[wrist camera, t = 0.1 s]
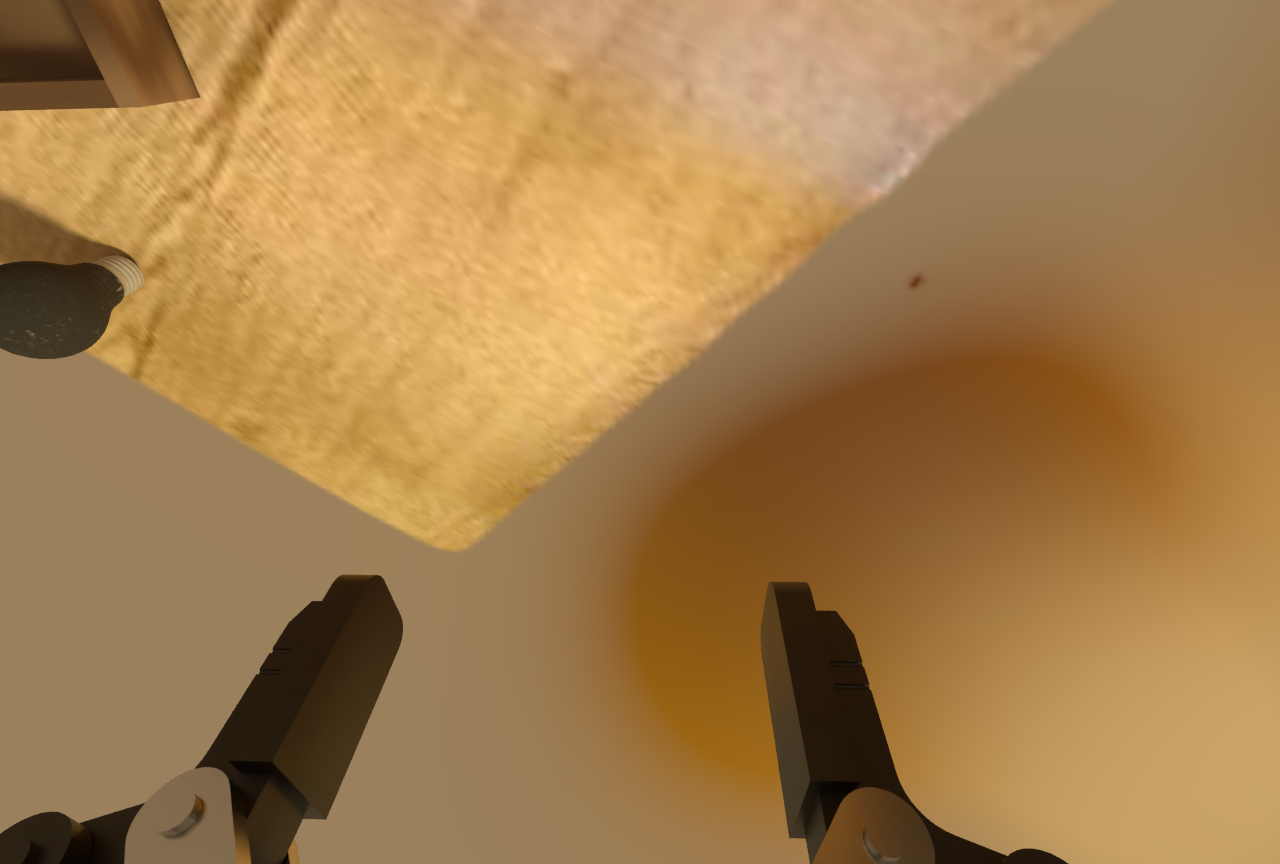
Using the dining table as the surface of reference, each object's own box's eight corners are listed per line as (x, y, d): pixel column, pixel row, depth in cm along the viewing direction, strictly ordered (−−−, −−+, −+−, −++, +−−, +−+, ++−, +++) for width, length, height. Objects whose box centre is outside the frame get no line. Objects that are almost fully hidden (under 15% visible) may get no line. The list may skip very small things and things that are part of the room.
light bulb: (153, 228, 37) (10, 286, 29) (191, 307, 40) (73, 378, 32) (70, 225, 37) (-96, 282, 29) (115, 304, 40) (-22, 374, 32)
